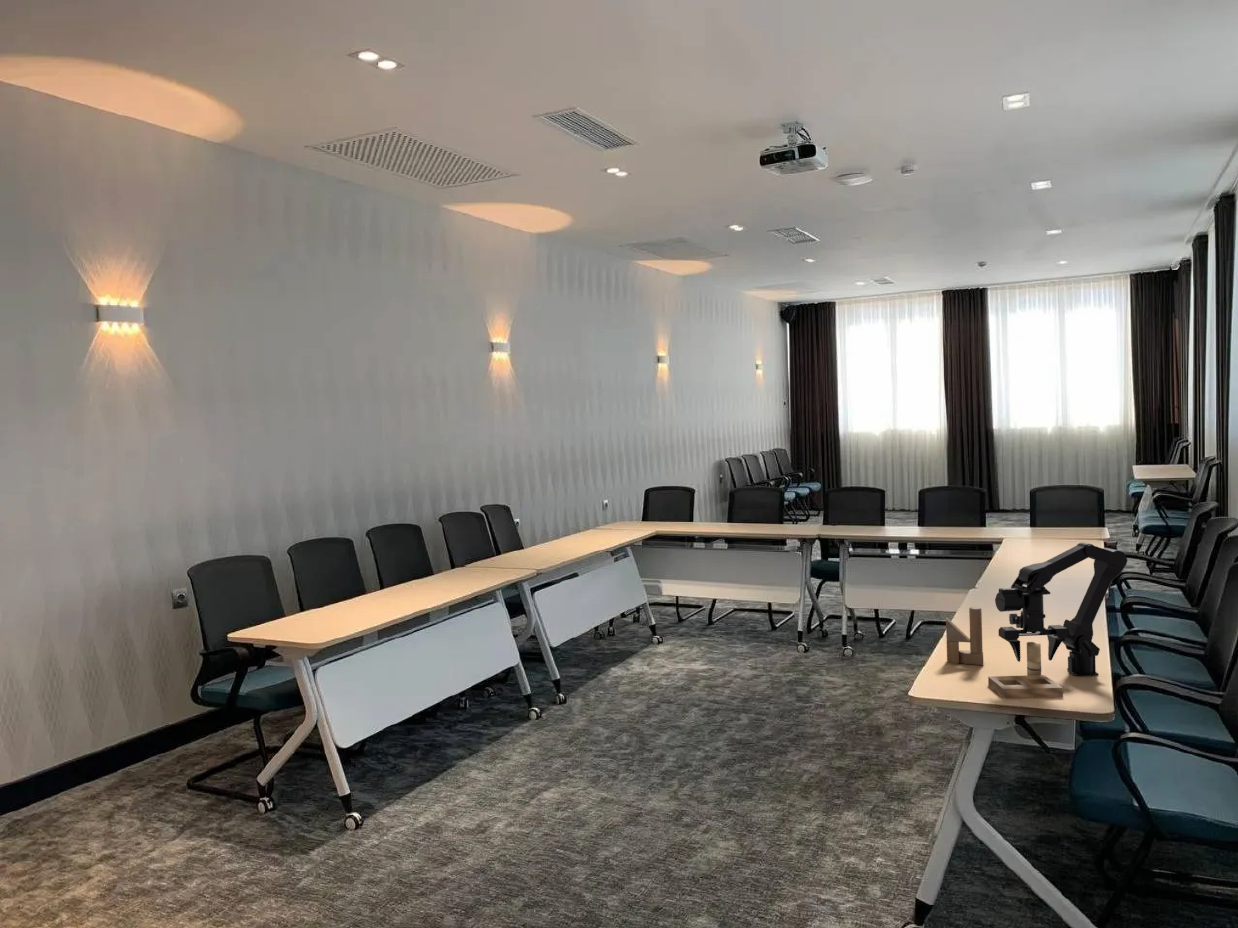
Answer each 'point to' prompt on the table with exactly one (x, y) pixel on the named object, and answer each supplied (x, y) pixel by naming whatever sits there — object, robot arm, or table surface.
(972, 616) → the wooden block structure
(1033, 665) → the dowel
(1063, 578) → the table surface
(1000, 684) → the board
